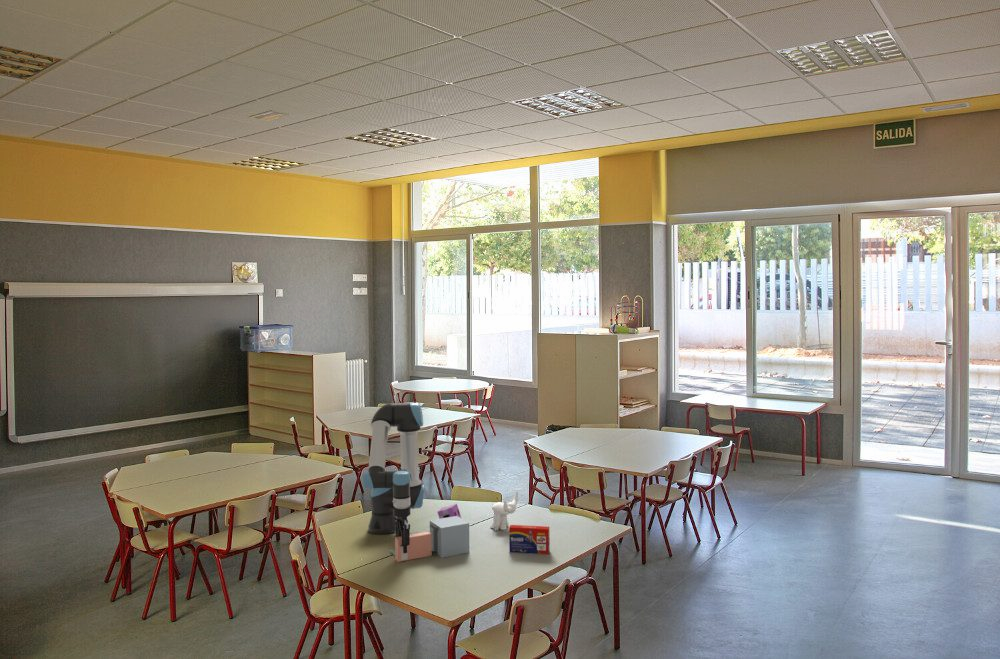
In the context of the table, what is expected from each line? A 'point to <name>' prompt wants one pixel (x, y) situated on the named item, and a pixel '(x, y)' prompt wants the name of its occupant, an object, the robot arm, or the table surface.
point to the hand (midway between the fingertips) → (402, 558)
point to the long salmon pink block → (415, 546)
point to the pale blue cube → (449, 536)
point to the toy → (449, 511)
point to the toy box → (529, 539)
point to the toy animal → (503, 513)
